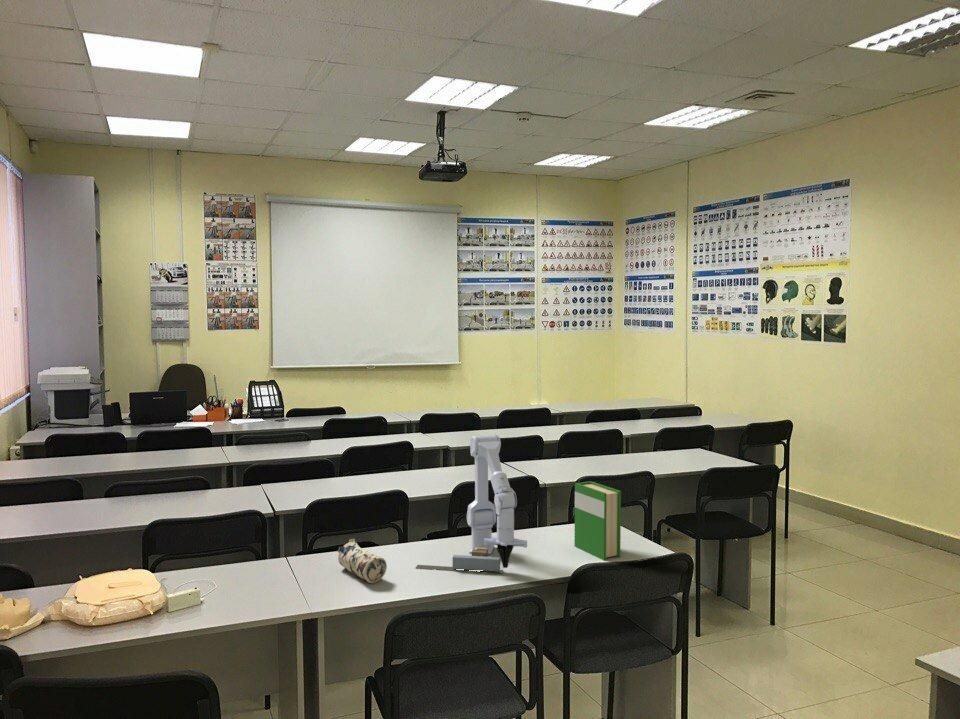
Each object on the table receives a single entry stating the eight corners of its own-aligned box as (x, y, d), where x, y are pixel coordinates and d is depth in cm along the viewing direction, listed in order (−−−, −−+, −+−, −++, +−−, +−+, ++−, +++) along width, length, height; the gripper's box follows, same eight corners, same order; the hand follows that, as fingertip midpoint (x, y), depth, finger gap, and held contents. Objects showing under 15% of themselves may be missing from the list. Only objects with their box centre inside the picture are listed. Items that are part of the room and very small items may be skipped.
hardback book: (620, 557, 258) (620, 491, 257) (603, 560, 255) (604, 493, 253) (590, 543, 274) (590, 481, 273) (574, 546, 270) (574, 483, 269)
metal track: (417, 565, 250) (417, 564, 250) (503, 570, 245) (503, 569, 245) (415, 568, 247) (415, 567, 247) (501, 573, 242) (501, 573, 242)
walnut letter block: (474, 561, 255) (474, 546, 254) (488, 561, 254) (488, 547, 254) (471, 566, 250) (471, 551, 249) (485, 567, 249) (485, 552, 248)
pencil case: (336, 569, 247) (335, 541, 247) (358, 564, 252) (358, 536, 252) (366, 588, 230) (366, 558, 229) (389, 582, 235) (389, 552, 234)
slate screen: (454, 566, 248) (454, 554, 247) (500, 568, 245) (500, 557, 244) (452, 568, 245) (452, 557, 245) (499, 571, 242) (499, 559, 242)
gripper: (482, 529, 240) (482, 569, 240) (525, 531, 237) (525, 572, 238) (485, 523, 247) (485, 562, 247) (527, 525, 244) (527, 564, 245)
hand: (505, 566), depth 243 cm, fingers closed
